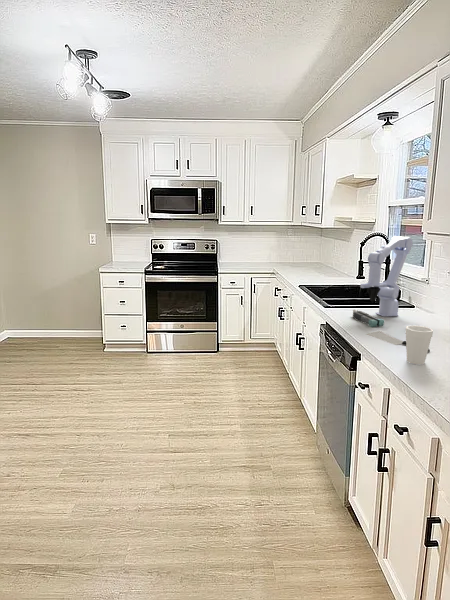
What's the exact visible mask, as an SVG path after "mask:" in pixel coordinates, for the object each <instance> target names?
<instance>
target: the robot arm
mask: <svg viewBox="0 0 450 600" xmlns="http://www.w3.org/2000/svg"><path fill="white" fill-rule="evenodd" d="M412 247H413V239H412V237H411V236H399V235H398V236H397V235H393V237H391V238H390V241H389V242H388V243H387V245H381V247H379V248H378V249H377V250H375V251H372V252H370V253H369V254H368V257H367V262H368V266H369V269H368V279H367V280H368V282H366V283H360V285H359V286H360V289H366V290H367V293H368V297H369V301H370V302H371V303H372V302H375V301H376V298H377V297H378V299H379V308H378V309H379V310H378V312H375V314H376V315H379V316H381V317H399V313H398V312H399V304H400V303H399V300H397V299H398V297H399V292H400V287H399V285H398V284H397V283H398V280H399V276H400V274H401V271H402V270H403V266H404V264H405V262H406V259H407V256H408V255H409V254H410V252H411V250H412ZM391 251H393V253H395V258H394V261H393V263H392V265H391V269H390V271H389V274H388V276H387V279H386V280H384V281H382V282H381V273H382V264H383V263H384V262H385V260H386V258H387V257H389V256H390V255H391Z"/></svg>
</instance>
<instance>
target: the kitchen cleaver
mask: <svg viewBox="0 0 450 600" xmlns="http://www.w3.org/2000/svg"><path fill="white" fill-rule="evenodd" d="M365 335H367V336H368V337H369V336H370V337H371V338H375V339H378V340H381V341H383V342H386V343H389V344H391V345H394V346H398V345H402V346H406V340H401V339H398V338H396V337H393V336H391V335H389V334H387V333H385V332H384V331H382V330H381V331H380V330H378V331H377V330H376V331H373V332H369V333H368V332H367V333H365ZM430 352H431V350H430V349H428V352H427V354H428V353H430Z"/></svg>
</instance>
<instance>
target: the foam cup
mask: <svg viewBox="0 0 450 600" xmlns="http://www.w3.org/2000/svg"><path fill="white" fill-rule="evenodd" d="M405 327H406V328H405V341H406V348H405V349H406V362H407V361H408V362H407V363H409V362H410V363H409V364H411V363H413V365H417V364H422V365H425V362H426V359H427V355H428V353H429V352H428V349H429V348H430V344H431V340H432V338H433V332H434V330H433V328H430V327H427V326H423V325H407V326H405ZM429 350H430V349H429ZM427 352H428V353H427Z"/></svg>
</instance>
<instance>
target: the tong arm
mask: <svg viewBox="0 0 450 600" xmlns="http://www.w3.org/2000/svg"><path fill="white" fill-rule="evenodd" d="M354 312H358V313H361V314H363V315H364V316H367V317H369V318H371V319H374V320H376V321H377V327H384V326H385V319H382V318H378V317H375V316H373V315H371V314H369V313H367V312H364V311H362V310H359V309H353V310H352V317H354Z"/></svg>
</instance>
